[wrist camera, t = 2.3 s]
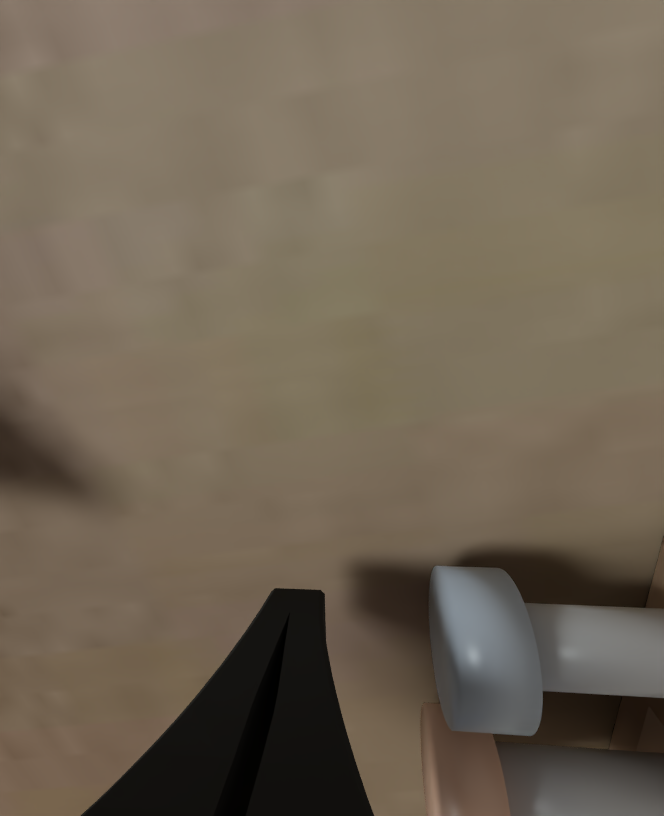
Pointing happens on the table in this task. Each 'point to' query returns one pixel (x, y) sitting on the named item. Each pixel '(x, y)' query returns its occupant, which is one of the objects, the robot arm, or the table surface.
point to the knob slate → (531, 651)
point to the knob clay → (532, 776)
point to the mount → (643, 716)
